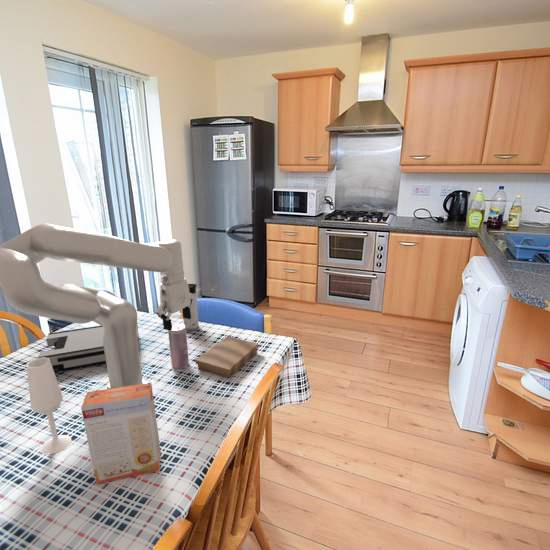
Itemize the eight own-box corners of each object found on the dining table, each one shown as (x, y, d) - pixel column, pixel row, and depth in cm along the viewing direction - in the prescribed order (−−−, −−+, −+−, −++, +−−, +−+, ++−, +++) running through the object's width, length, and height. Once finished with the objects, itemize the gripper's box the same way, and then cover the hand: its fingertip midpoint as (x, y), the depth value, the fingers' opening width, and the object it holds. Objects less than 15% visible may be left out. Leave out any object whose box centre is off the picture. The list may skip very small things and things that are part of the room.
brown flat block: (229, 380, 120) (229, 369, 119) (196, 369, 126) (195, 359, 125) (258, 353, 137) (258, 343, 136) (228, 345, 144) (227, 336, 142)
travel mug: (197, 331, 156) (194, 287, 150) (182, 331, 156) (178, 287, 150) (201, 324, 161) (197, 282, 155) (186, 324, 162) (182, 282, 156)
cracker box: (161, 453, 90) (152, 380, 84) (160, 472, 85) (150, 396, 79) (100, 464, 87) (86, 389, 81) (95, 485, 82) (80, 406, 75)
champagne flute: (43, 439, 95) (24, 358, 88) (72, 432, 98) (56, 353, 90) (39, 457, 89) (18, 372, 82) (70, 449, 92) (52, 366, 85)
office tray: (52, 349, 142) (48, 330, 139) (138, 335, 153) (136, 317, 150) (41, 377, 123) (36, 356, 121) (140, 359, 134) (138, 339, 132)
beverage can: (182, 359, 134) (178, 321, 129) (192, 364, 130) (189, 326, 125) (168, 365, 129) (164, 327, 125) (178, 371, 126) (174, 332, 121)
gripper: (162, 286, 111) (168, 336, 116) (198, 271, 125) (202, 316, 131) (144, 283, 114) (151, 332, 119) (181, 268, 129) (185, 312, 134)
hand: (177, 323), depth 125 cm, fingers open, 9 cm apart
